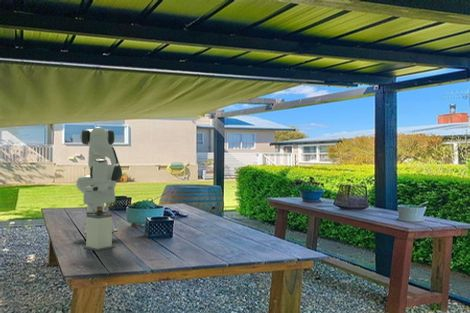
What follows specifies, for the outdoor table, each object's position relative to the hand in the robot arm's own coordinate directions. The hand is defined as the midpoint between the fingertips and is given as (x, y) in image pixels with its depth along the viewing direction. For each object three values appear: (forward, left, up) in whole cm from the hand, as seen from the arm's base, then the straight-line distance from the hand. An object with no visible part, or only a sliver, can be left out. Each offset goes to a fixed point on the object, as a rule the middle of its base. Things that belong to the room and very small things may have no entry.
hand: (99, 211), depth 251 cm
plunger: (0, 0, -16) cm, 16 cm away
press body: (0, 0, -21) cm, 21 cm away
